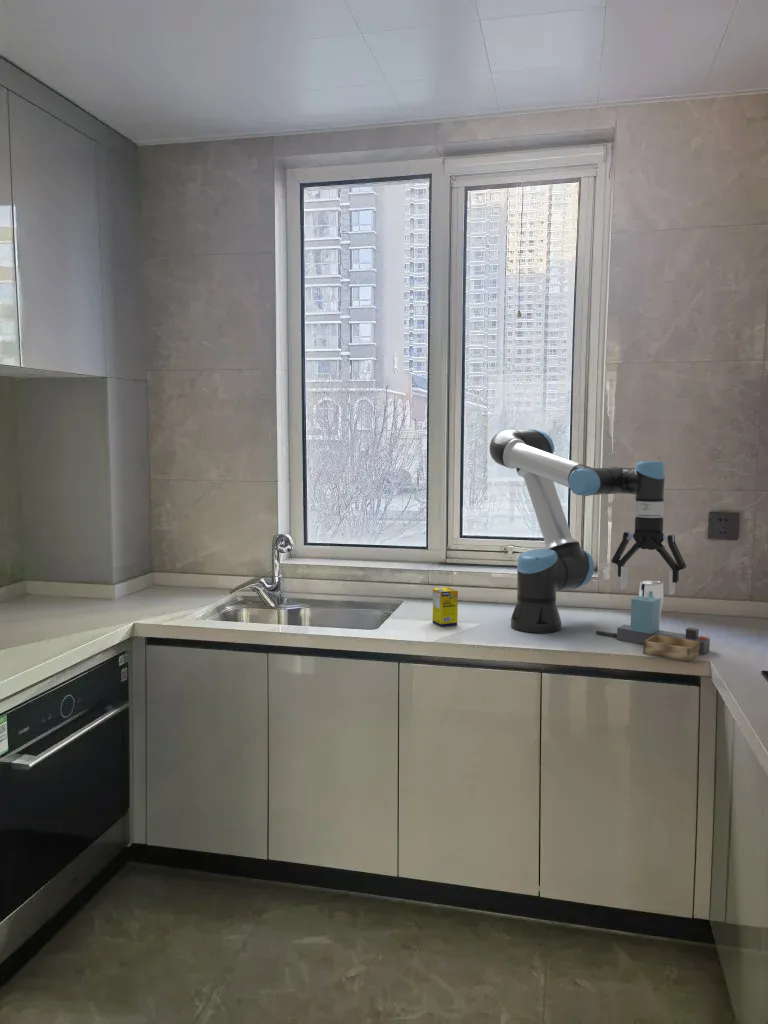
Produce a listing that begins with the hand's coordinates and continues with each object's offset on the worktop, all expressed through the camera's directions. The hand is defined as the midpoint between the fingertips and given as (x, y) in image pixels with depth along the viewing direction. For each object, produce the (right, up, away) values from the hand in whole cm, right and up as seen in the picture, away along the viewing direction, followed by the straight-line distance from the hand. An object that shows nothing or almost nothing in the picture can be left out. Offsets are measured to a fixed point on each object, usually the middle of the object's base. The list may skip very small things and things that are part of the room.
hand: (647, 591), depth 216 cm
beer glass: (+5, -14, +14) cm, 20 cm away
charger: (0, -14, +2) cm, 14 cm away
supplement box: (-55, -13, +22) cm, 61 cm away
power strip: (+1, -15, +1) cm, 15 cm away
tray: (+3, -16, -10) cm, 19 cm away
